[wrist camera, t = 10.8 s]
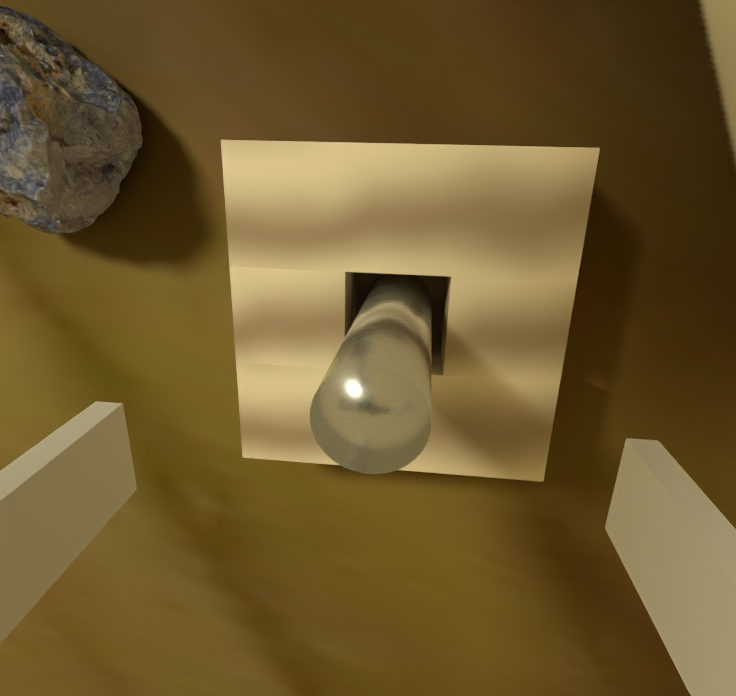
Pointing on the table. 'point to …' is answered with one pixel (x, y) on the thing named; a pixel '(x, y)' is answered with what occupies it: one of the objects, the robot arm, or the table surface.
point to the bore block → (411, 257)
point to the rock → (59, 129)
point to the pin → (379, 382)
